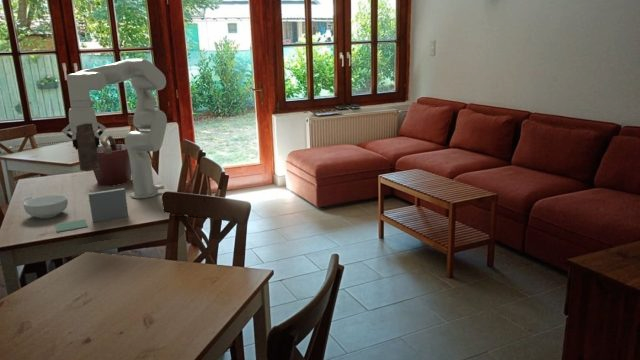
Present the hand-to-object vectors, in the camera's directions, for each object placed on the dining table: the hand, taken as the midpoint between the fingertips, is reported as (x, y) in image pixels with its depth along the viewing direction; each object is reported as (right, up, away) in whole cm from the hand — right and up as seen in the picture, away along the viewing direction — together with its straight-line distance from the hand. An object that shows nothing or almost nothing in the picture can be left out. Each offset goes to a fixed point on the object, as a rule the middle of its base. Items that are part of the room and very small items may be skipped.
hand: (86, 147), depth 205 cm
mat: (-5, -32, -2) cm, 32 cm away
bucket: (-16, -15, +64) cm, 68 cm away
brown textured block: (0, -10, +2) cm, 10 cm away
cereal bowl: (-22, -29, +12) cm, 39 cm away
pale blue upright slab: (+7, -30, +6) cm, 31 cm away
